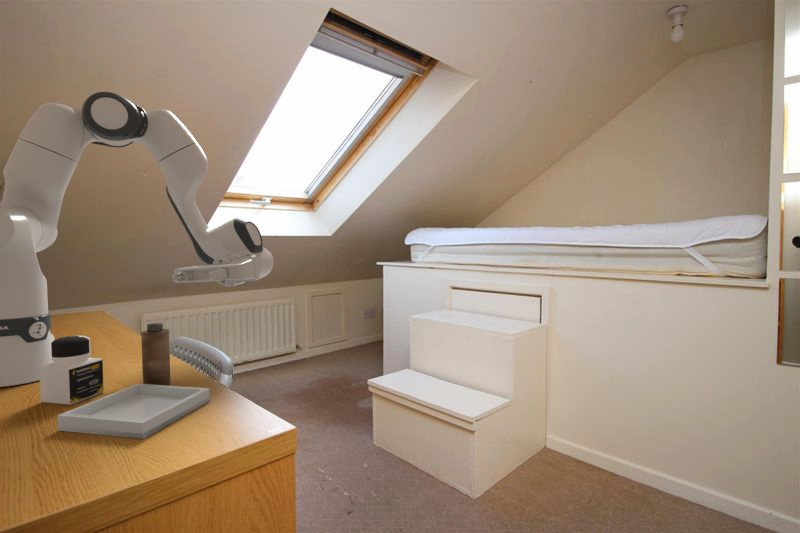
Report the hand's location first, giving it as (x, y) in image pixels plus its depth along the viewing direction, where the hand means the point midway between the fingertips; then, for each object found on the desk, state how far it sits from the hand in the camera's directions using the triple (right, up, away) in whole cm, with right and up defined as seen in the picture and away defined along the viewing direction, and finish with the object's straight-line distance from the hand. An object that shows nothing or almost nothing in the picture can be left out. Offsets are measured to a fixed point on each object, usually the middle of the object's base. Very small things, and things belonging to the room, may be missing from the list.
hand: (191, 277), depth 98 cm
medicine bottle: (-16, -24, -15) cm, 32 cm away
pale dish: (+3, -24, -24) cm, 34 cm away
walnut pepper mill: (-2, -23, -9) cm, 25 cm away
